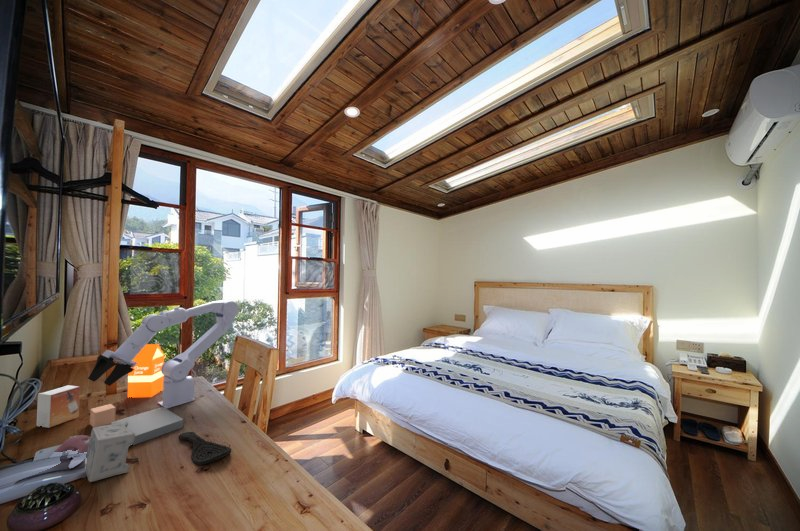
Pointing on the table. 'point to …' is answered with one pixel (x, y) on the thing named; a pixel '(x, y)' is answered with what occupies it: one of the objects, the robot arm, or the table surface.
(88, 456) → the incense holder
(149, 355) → the orange juice
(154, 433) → the plinth
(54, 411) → the small box
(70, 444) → the pink rounded lump
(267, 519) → the table surface
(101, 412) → the terracotta block
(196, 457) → the hairbrush
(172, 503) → the table surface
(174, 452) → the table surface
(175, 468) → the table surface
